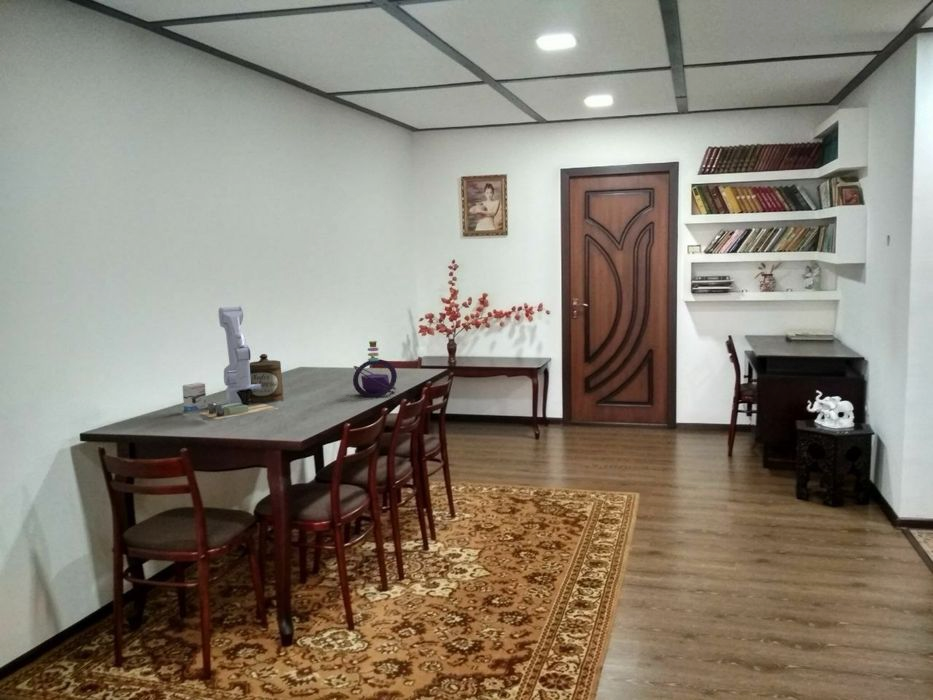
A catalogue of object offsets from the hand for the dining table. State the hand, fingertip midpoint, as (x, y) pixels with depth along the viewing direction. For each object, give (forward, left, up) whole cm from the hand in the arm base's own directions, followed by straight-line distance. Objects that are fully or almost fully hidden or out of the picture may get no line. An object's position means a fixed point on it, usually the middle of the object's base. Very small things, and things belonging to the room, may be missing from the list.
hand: (245, 407), depth 326 cm
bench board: (0, -3, -2) cm, 4 cm away
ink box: (-20, -14, -2) cm, 24 cm away
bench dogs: (0, -13, -2) cm, 13 cm away
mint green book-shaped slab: (0, -5, -1) cm, 5 cm away
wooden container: (-15, +17, -2) cm, 23 cm away
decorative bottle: (+8, +61, -2) cm, 62 cm away
